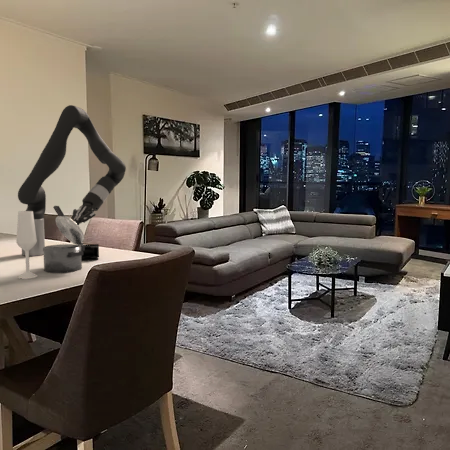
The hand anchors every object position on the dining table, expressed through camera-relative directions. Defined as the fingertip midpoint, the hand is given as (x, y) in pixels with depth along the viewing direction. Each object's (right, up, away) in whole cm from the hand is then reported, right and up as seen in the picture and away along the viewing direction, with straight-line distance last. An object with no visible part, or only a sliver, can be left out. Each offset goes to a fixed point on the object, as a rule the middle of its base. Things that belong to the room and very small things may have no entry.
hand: (71, 228), depth 163 cm
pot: (-3, -16, -2) cm, 16 cm away
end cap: (0, -14, +19) cm, 24 cm away
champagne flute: (-10, -18, -15) cm, 25 cm away
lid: (-1, +1, -2) cm, 2 cm away
